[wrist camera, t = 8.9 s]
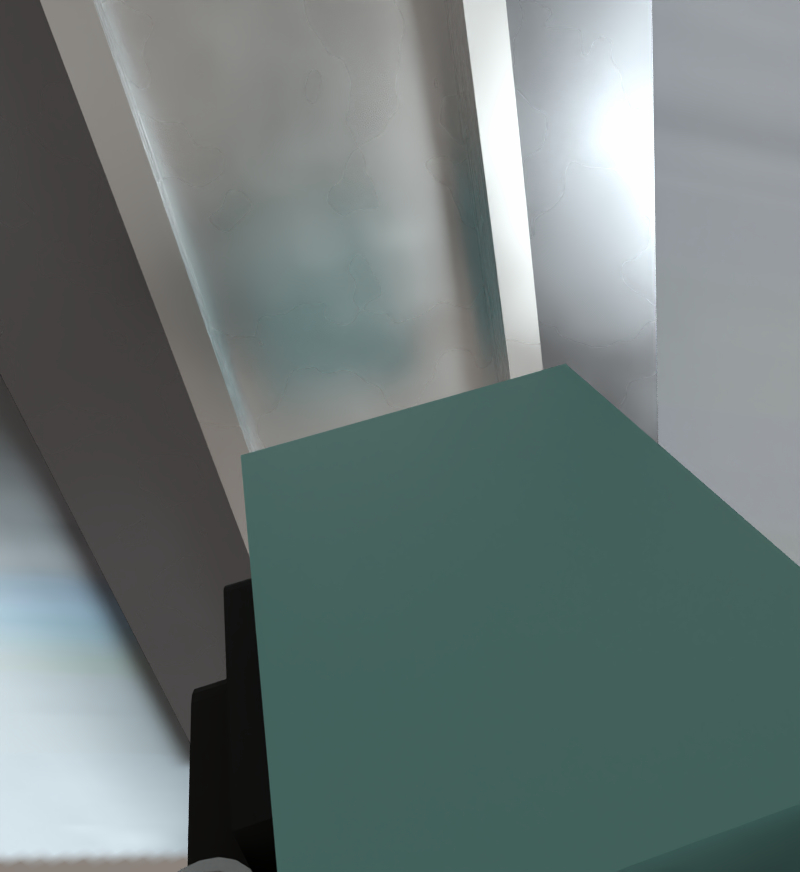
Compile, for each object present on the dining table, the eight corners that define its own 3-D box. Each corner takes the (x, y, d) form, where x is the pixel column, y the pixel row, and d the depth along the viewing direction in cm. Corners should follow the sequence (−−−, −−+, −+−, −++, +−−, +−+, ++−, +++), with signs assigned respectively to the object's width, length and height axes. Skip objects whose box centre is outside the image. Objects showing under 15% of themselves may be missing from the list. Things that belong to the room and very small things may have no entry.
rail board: (-281, -225, 12) (-423, -301, 9) (618, -379, 14) (720, -482, 11) (212, 762, 25) (213, 850, 22) (646, 622, 27) (696, 688, 24)
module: (237, 456, 11) (278, 994, 5) (568, 363, 11) (997, 732, 5) (333, 730, 14) (437, 1278, 8) (592, 645, 14) (882, 1092, 8)
